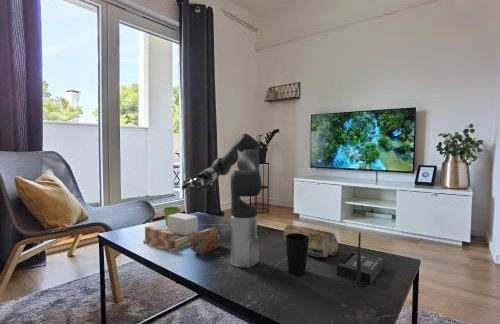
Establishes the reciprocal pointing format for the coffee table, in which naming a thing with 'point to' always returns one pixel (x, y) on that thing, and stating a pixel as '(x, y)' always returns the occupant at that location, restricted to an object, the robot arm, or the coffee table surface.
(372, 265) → the wireless controller
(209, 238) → the tin
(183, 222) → the white rectangular block
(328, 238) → the petrified wood
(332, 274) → the coffee table surface
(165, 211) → the plant pot
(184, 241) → the roller track
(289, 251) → the cup
